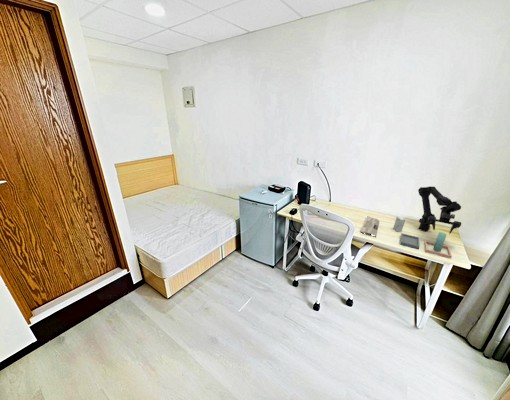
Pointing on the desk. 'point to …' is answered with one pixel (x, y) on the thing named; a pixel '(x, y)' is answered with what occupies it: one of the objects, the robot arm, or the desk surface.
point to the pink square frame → (437, 252)
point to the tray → (409, 241)
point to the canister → (439, 242)
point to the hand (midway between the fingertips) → (441, 231)
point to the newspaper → (370, 226)
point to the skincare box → (399, 224)
